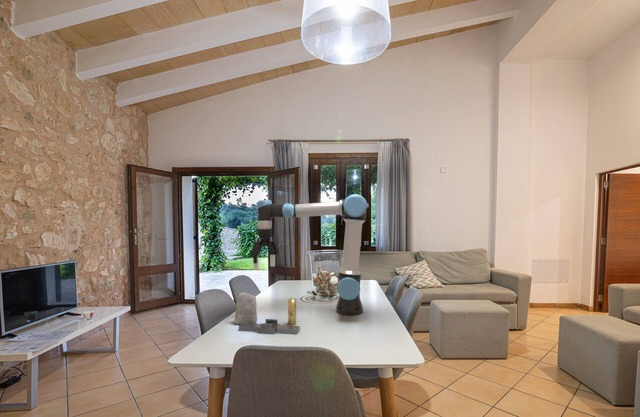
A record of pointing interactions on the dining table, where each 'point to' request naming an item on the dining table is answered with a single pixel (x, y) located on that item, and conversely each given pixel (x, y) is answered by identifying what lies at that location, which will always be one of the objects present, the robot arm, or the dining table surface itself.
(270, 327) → the link plates
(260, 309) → the dining table surface
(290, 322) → the link pin
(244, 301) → the decorative stone
